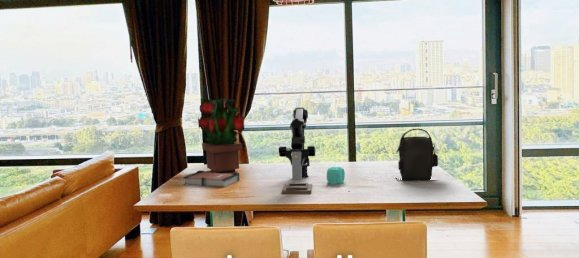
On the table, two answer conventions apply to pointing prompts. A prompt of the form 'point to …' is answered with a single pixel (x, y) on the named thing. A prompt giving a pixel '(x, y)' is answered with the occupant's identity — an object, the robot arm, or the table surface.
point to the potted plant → (221, 134)
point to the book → (211, 179)
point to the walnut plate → (297, 188)
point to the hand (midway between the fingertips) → (296, 164)
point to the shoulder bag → (416, 157)
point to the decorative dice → (335, 175)
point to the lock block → (296, 164)
